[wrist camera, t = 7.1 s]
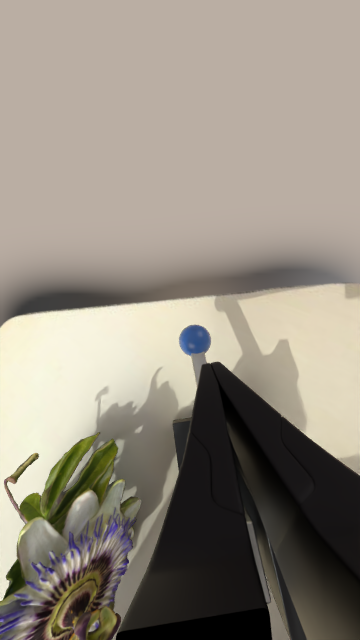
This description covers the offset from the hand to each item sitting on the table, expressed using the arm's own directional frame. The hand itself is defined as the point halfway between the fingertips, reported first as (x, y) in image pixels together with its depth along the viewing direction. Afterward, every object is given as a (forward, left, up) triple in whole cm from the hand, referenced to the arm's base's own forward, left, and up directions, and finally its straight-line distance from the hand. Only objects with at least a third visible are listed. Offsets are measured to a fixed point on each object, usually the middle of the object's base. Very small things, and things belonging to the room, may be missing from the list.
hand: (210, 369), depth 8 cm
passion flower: (-16, +3, -13) cm, 21 cm away
